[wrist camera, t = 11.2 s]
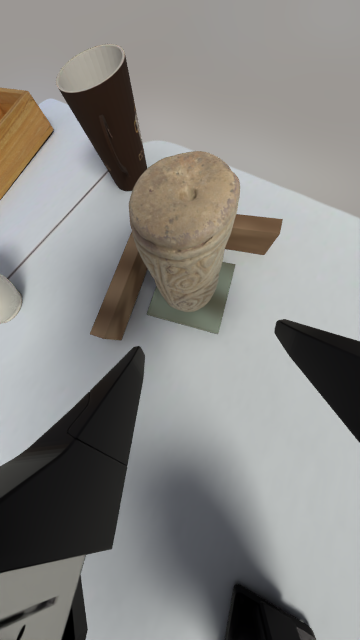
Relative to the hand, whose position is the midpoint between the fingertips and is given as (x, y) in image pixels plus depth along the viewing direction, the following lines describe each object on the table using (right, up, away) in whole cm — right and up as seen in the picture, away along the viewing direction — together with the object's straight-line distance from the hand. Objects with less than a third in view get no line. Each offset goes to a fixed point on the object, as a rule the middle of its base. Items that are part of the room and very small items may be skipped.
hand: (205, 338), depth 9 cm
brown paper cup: (-11, +27, +16) cm, 33 cm away
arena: (0, +5, +10) cm, 11 cm away
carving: (0, +5, +10) cm, 11 cm away
